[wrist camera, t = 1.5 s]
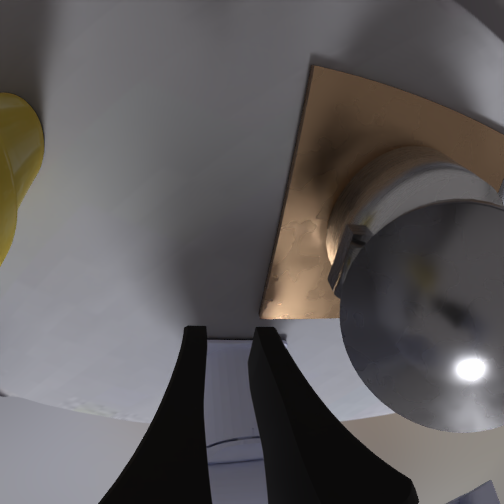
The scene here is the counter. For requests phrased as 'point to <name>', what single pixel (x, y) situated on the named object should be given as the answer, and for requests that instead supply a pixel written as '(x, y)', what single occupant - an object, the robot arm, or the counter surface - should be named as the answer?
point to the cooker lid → (430, 314)
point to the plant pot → (16, 161)
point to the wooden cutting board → (366, 180)
